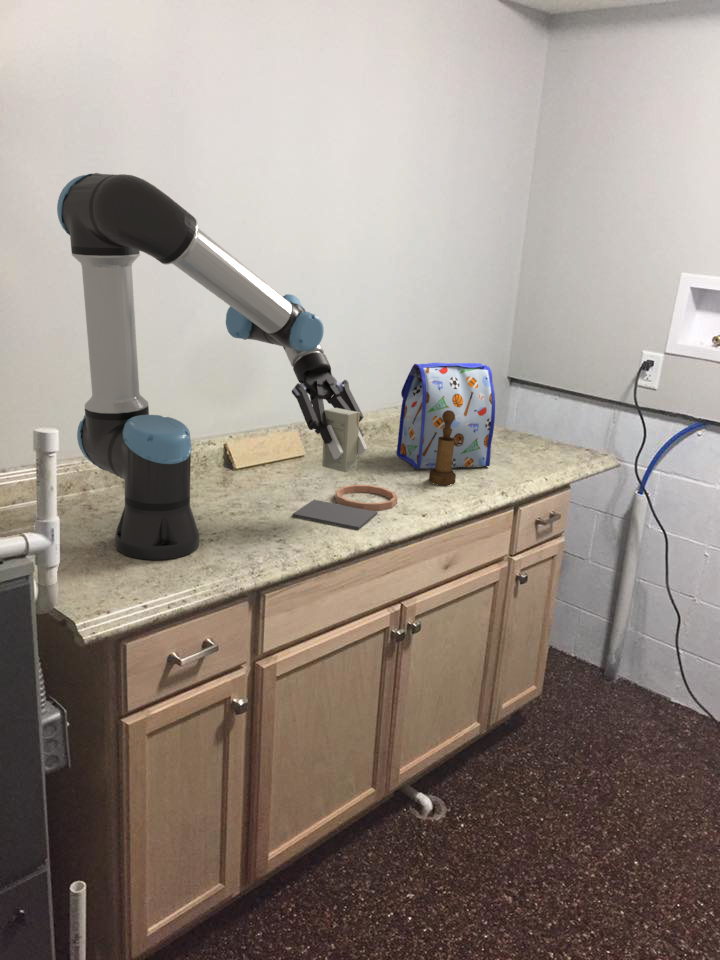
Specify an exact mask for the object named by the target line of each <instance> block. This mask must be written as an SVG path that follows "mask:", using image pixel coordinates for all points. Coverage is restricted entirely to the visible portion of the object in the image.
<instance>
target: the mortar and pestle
mask: <svg viewBox="0 0 720 960" xmlns="http://www.w3.org/2000/svg"><path fill="white" fill-rule="evenodd" d="M442 418H443V421H444V423H445V427H444V428H443V436H444V437H439V439H438V449H437V458H436V466H435V468H434V469H431V470H430V471H429V477H428V482H429V481H430V483H431V482H432V483H431V484H433V483H434V484H433V485H435V484H438V485H437V486H441V485H450V484H454V483H455V484H456V479H457V478H456V477H457V475H456V472H454V471H453V469H452V468H451V466H452V458H453V450H454V441H455V439H453V438H451V437H450V435H451V433H452V429H451V424H452V422H453V421H454V419H455V414H454V412H453V411H449V410H447V411H445V412H444V413H443V416H442ZM455 484H454V485H455Z"/></svg>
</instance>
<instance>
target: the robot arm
mask: <svg viewBox="0 0 720 960" xmlns="http://www.w3.org/2000/svg"><path fill="white" fill-rule="evenodd" d="M56 211H57V218H58V222H59V224H60V225H61V226H60V227H61V228H62V229H63V230H64V231H65V232H66V234H67V235H68V236H69V239H70V248H71V249H70V250H71V256H72V257H73V258H74V259H76V260H77V261H78V262H79V263H80V265H81V271H82V284H83V297H84V298H83V299H84V308H85V322H86V334H87V344H88V348H87V349H88V357H89V358H88V359H89V371H90V383H91V385H90V386H91V394H92V395H91V397H90V398H89V399H88V400H87V401H86V402H85V403H84V415H83V418H82V420H81V421H80V422H79V424H78V427H77V433H76V439H77V443H78V447H79V449H80V451H81V452H82V453H81V454H83V456H84V457H85V458H86V459H87V460H88V461H90V463H92V464H93V465H94V466H96V467H97V468H99V469H100V470H102V471H105V472H108V473H111V474H112V475H115V476H116V477H118V478H120V479H123V480H124V506H123V509H122V513H121V517H120V519H119V523H118V525H117V528H116V531H115V537H114V538H115V539H114V541H115V545H114V546H115V549H116V550H117V551H118V552H119V553H121V554H123V555H124V556H127V557H131V558H135V559H139V560H148V561H149V560H152V561H153V560H155V561H156V560H159V561H160V560H161V561H162V560H170V559H176V558H181V557H184V556H186V555H190V554H192V553H194V551H196V550H197V549H198V548H199V547H200V532H199V529H198V526H197V523H196V519H195V515H194V513H193V510H192V508H191V463H192V462H191V461H192V459H191V454H192V451H193V449H192V448H193V447H192V442H191V441H192V440H191V433H190V430H189V428H188V427H187V425H186V424H185V423H183V422H182V421H180V420H178V419H176V418H173V417H170V416H163V415H159V414H150V409H149V401H148V400H147V399H146V398H144V397H143V396H142V395H141V393H140V384H139V383H140V382H139V379H140V378H139V368H138V367H139V366H138V363H139V362H138V350H137V348H138V347H137V346H138V345H137V334H136V332H137V331H136V317H135V316H136V315H135V313H136V312H135V300H134V299H135V297H134V286H133V285H134V283H133V282H134V281H133V268H132V267H133V263H135V261H136V260H137V259H138V258H139V256H141V255H140V253H141V252H142V253H144V254H146V255H148V256H150V257H152V258H154V259H155V260H157V261H158V262H160V263H161V264H163V265H173V266H175V267H177V268H178V270H180V271H182V272H183V273H184V274H186V276H188V277H190V278H192V280H194V281H196V283H198V284H199V285H201V286H202V287H203V288H205V289H206V290H208V291H209V292H210V293H212V295H215V296H216V297H218V299H220V300H221V301H223V302H224V303H225V304H227V305H228V306H229V307H228V309H227V310H226V314H225V315H226V316H225V327H226V329H227V332H228V333H229V335H230V336H231V337H232V338H235V339H242V340H244V341H247V340H251V341H252V340H253V341H258V342H263V343H265V344H271V345H276V346H279V347H282V348H283V351H284V352H285V354H286V357H287V359H288V361H289V363H290V365H291V367H292V369H293V373H294V374H295V378H296V379H297V381H298V383H296V384H295V386H294V387H293V388H292V390H291V394H292V395H293V396H294V398H296V401H297V403H298V406H299V408H300V410H301V413H302V416H303V419H304V420H305V421H304V422H305V423H306V426H307V428H308V429H309V431H312V430H314V433H315V434H318V435H320V437H321V439H322V442H323V441H324V443H325V444H327V445H328V447H329V449H330V451H331V454H332V456H333V458H334V459H338V457H339V456H340V455H341V454H342V453H343V450H342V448H341V446H340V444H339V442H338V439H337V437H336V435H335V433H334V430H333V428H332V426H331V425H328V426H326V425H327V421H326V415H325V410H326V409H325V405H324V400H325V401H327V403H328V404H330V405H331V406H332V407H333V408H340V409H345V410H351V411H356V412H360V413H359V423H360V422H361V421H362V420H363V419H364V415H363V412H362V411H361V409H360V407H359V404H358V403H357V400H356V399H355V397H354V395H353V393H352V391H351V389H350V384H349V380H347V379H344V380H343V381H341V380H340V381H339V380H337V378H335V377H334V375H333V374H332V368H331V365H330V363H329V360H328V357H327V356H326V354H325V353H324V352H325V351H324V349H323V346H322V345H321V342H322V340H323V337H324V329H325V328H324V323H323V322H322V320H321V318H320V317H319V316H318V315H316V314H314V313H311V312H310V311H307V310H306V309H305V308H304V307H303V304H302V303H301V301H300V299H299V298H298V297H297V296H296V295H294V294H290V293H289V294H285V295H281V294H280V293H279V292H278V291H277V290H275V289H274V288H273V287H271V286H270V285H269V284H268V283H267V282H265V281H264V280H263V279H261V277H259V276H258V275H257V274H256V273H254V272H253V271H252V270H251V269H249V268H248V267H247V266H245V265H244V264H243V263H242V262H241V261H239V260H238V259H237V258H236V257H234V256H233V255H232V254H231V253H229V251H227V250H226V249H224V248H223V247H222V246H221V245H220V244H218V243H217V242H216V241H214V240H213V239H212V238H211V237H210V236H208V235H207V233H205V232H204V231H202V230H201V229H200V228H199V226H198V221H197V218H196V217H194V215H192V214H191V213H190V212H189V211H187V210H186V209H185V208H184V207H182V206H181V205H180V204H179V203H178V202H176V201H175V200H173V199H172V198H171V197H170V196H169V195H167V194H166V192H165V193H164V192H163V191H162V190H160V189H159V188H158V187H156V186H155V185H154V184H152V183H151V182H149V181H147V180H145V179H143V178H141V177H138V176H135V175H133V174H113V173H112V174H110V173H109V174H107V173H98V172H94V173H87V174H83V175H82V174H81V175H79V176H76V177H74V178H73V179H71V180H70V181H68V183H66V185H65V186H63V188H62V190H61V192H60V193H59V196H58V199H57V205H56ZM363 437H364V433H363V431H362V429H361V427H360V426H359V433H358V451H357V457H358V456H359V457H360V456H362V455H363V454H364V453H365V452H366V451H367V450H368V447H367V445H366V442H365V440H364V438H363Z"/></svg>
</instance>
